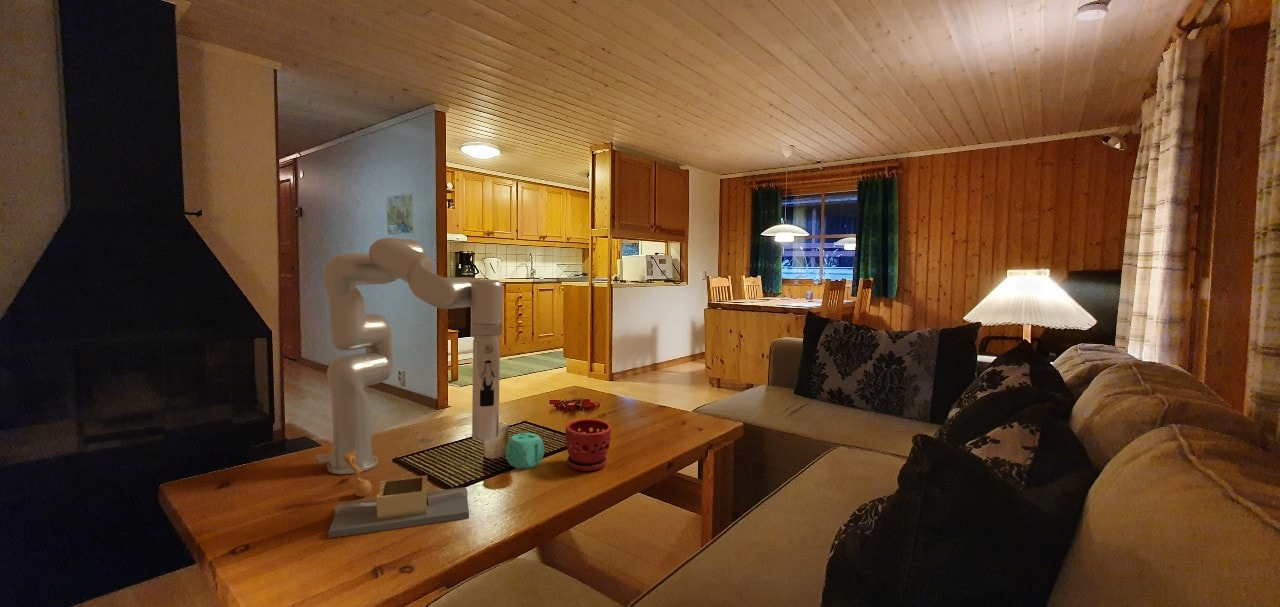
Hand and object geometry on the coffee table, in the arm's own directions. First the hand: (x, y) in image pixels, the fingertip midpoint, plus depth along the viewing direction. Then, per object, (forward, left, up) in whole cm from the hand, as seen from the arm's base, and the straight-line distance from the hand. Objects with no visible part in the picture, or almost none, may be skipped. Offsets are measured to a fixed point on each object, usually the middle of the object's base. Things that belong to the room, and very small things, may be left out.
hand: (485, 401), depth 131 cm
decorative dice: (+12, +18, -24) cm, 32 cm away
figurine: (-30, +9, -24) cm, 39 cm away
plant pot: (+29, +11, -24) cm, 39 cm away
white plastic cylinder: (0, 0, -9) cm, 9 cm away
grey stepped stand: (-19, -4, -22) cm, 29 cm away
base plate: (-19, -4, -24) cm, 31 cm away
